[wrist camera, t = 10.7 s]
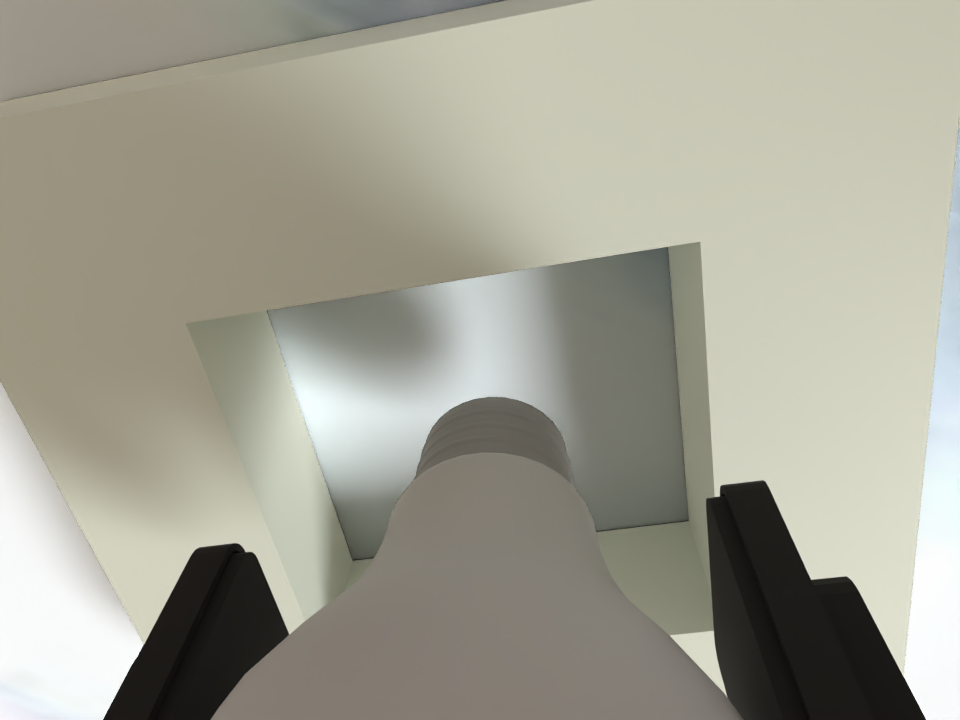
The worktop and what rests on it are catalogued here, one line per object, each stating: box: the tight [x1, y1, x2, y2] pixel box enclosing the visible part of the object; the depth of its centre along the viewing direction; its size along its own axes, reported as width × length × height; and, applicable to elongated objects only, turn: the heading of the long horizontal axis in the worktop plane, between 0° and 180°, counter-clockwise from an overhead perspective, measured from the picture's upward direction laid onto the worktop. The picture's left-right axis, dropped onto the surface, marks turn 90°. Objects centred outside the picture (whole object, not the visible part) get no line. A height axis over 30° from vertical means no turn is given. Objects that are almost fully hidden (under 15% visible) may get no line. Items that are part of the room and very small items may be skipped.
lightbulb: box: [211, 397, 744, 720], centre depth 10 cm, size 6×6×11 cm
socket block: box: [0, 0, 960, 698], centre depth 14 cm, size 14×14×3 cm
